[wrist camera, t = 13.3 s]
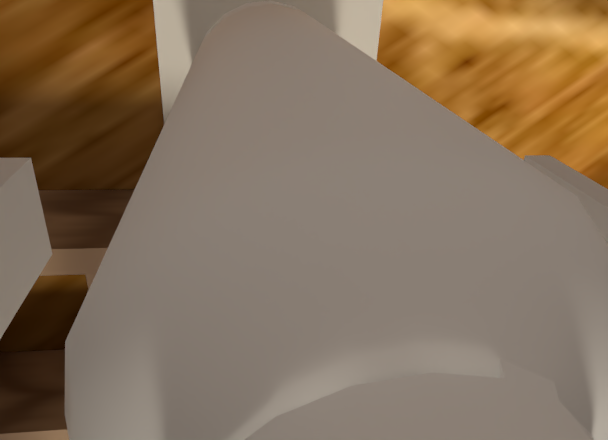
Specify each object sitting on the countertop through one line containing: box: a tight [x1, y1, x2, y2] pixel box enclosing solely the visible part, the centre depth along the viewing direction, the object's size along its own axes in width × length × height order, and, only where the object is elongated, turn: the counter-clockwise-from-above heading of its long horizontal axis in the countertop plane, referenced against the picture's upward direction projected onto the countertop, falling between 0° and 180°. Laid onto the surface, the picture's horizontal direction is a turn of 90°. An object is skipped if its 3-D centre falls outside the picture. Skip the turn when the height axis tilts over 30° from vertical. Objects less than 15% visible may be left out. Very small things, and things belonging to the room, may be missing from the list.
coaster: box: [153, 0, 383, 124], centre depth 27 cm, size 12×12×1 cm
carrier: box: [0, 190, 134, 440], centre depth 30 cm, size 26×14×7 cm, turn 88°
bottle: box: [65, 0, 608, 440], centre depth 15 cm, size 8×8×28 cm
